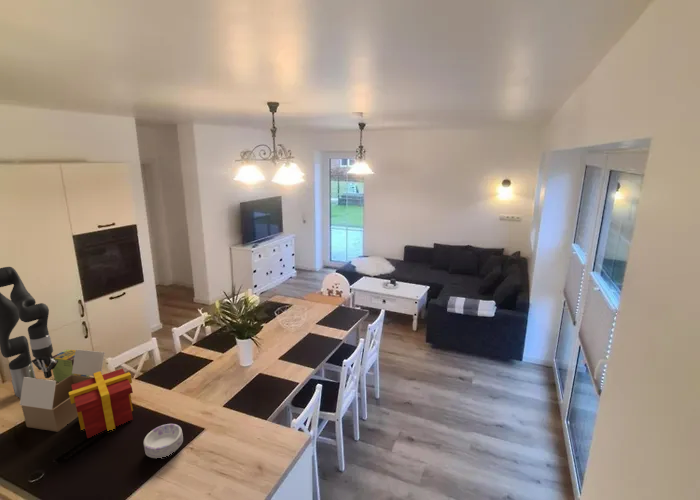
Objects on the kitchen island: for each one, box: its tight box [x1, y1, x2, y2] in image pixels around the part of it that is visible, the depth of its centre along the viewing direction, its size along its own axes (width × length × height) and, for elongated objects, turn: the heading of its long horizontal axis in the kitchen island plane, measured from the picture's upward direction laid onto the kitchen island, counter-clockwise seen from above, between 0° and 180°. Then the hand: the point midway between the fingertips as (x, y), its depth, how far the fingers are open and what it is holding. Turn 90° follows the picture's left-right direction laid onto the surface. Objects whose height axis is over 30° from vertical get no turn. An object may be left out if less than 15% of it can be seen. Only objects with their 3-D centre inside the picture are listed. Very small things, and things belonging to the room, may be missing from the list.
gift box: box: [69, 368, 134, 439], centre depth 179 cm, size 25×25×20 cm
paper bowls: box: [143, 423, 184, 459], centre depth 161 cm, size 15×15×8 cm
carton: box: [20, 375, 94, 433], centre depth 186 cm, size 18×26×12 cm
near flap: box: [19, 377, 57, 409], centre depth 172 cm, size 18×13×1 cm
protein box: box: [51, 349, 90, 383], centre depth 214 cm, size 10×15×16 cm
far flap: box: [72, 348, 106, 377], centre depth 198 cm, size 18×13×1 cm
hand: (48, 377), depth 177 cm, fingers closed
